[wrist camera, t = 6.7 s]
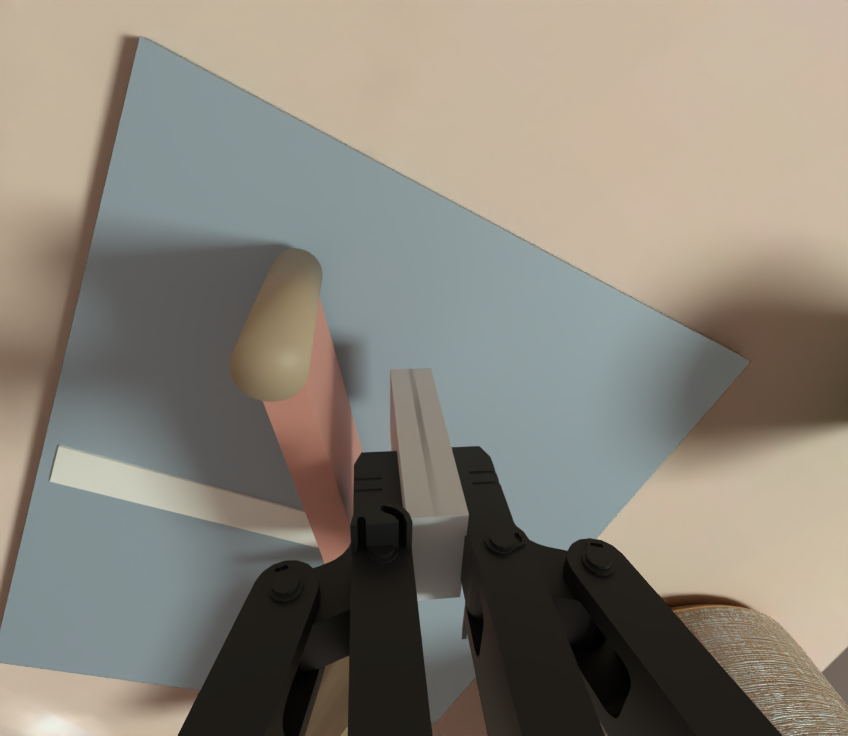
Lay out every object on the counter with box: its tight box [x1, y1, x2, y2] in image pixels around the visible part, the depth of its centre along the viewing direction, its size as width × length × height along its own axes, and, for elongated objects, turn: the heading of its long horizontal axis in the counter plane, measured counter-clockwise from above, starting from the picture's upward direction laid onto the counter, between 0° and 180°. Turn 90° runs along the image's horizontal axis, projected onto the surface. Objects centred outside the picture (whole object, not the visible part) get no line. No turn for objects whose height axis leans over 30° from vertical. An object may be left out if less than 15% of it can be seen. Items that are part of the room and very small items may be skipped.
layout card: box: [0, 36, 750, 723], centre depth 22 cm, size 24×28×1 cm
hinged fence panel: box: [229, 248, 363, 564], centre depth 16 cm, size 13×2×6 cm, turn 9°
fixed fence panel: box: [305, 656, 349, 736], centre depth 23 cm, size 2×14×8 cm, turn 152°
